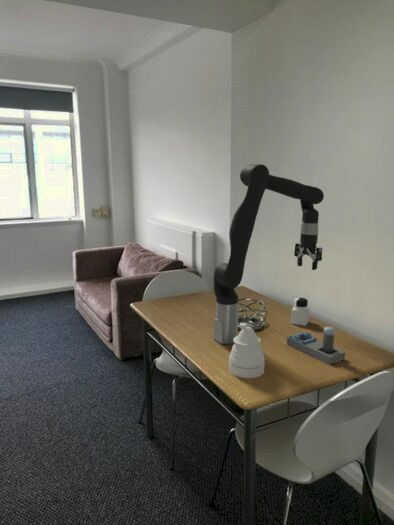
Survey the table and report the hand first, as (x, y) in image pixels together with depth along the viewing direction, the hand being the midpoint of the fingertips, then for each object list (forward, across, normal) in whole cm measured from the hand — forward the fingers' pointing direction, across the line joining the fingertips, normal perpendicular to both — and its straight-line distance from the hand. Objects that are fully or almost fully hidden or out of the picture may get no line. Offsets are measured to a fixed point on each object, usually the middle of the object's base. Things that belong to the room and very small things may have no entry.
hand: (306, 267), depth 194 cm
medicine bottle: (+28, -3, +1) cm, 28 cm away
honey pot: (+28, +20, -51) cm, 62 cm away
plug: (+28, +30, -19) cm, 45 cm away
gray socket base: (+28, +23, -18) cm, 41 cm away
